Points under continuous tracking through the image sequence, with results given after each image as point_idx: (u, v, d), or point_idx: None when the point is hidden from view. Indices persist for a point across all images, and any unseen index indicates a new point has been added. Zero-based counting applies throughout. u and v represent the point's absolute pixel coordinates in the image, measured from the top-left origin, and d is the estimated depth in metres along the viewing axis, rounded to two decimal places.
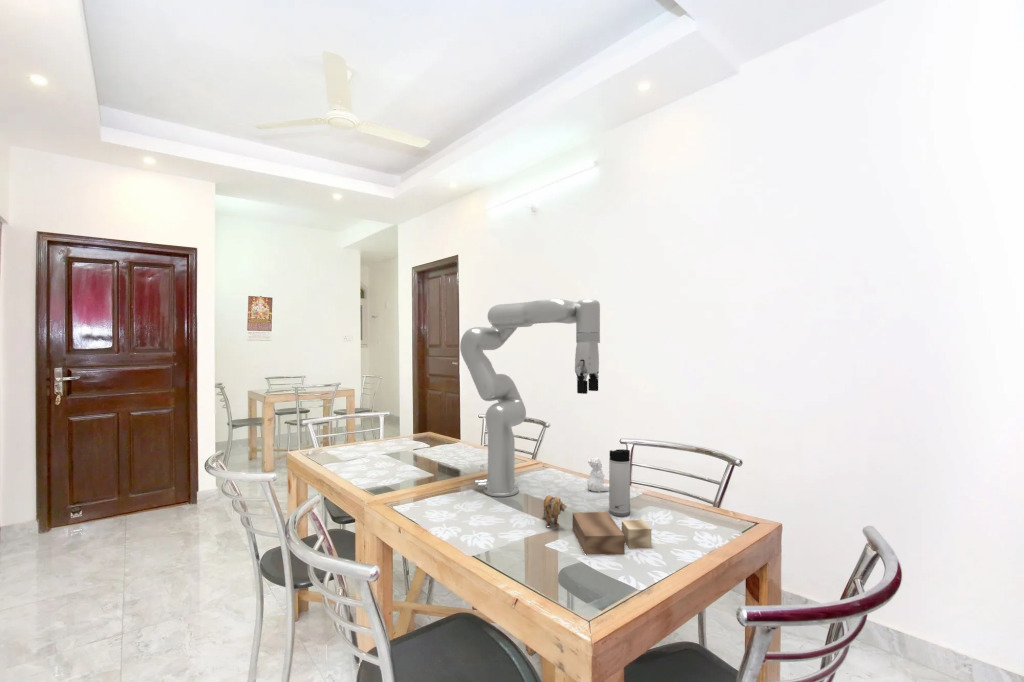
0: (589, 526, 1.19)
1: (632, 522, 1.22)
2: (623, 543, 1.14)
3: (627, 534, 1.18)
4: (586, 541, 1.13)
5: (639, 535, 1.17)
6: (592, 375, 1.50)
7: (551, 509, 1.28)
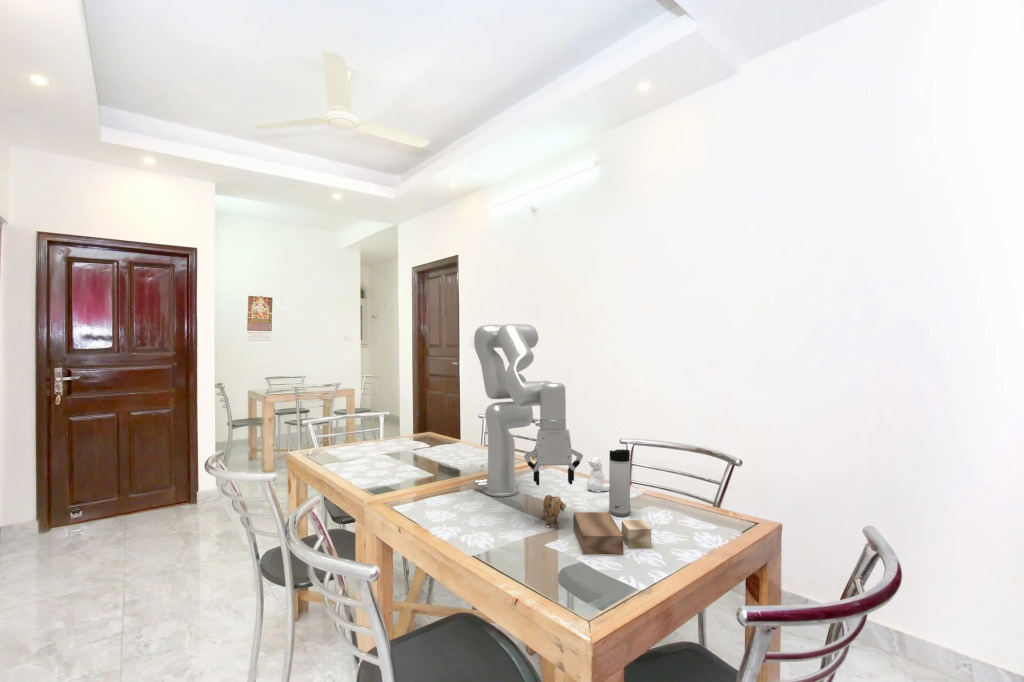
0: (588, 526, 1.20)
1: (632, 522, 1.22)
2: (622, 543, 1.14)
3: (627, 534, 1.18)
4: (584, 541, 1.13)
5: (639, 535, 1.17)
6: None
7: (551, 508, 1.29)
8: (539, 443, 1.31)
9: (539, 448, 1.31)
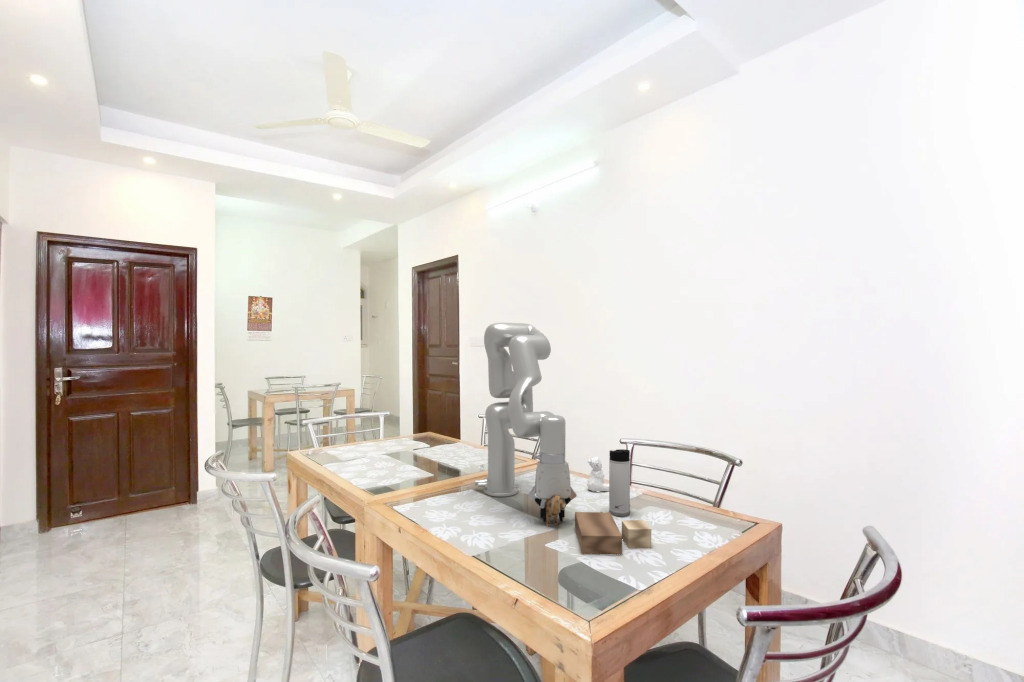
0: (588, 526, 1.20)
1: (632, 522, 1.22)
2: (620, 544, 1.13)
3: (627, 534, 1.18)
4: (583, 540, 1.14)
5: (639, 535, 1.17)
6: None
7: (551, 507, 1.29)
8: (538, 476, 1.31)
9: (538, 481, 1.31)
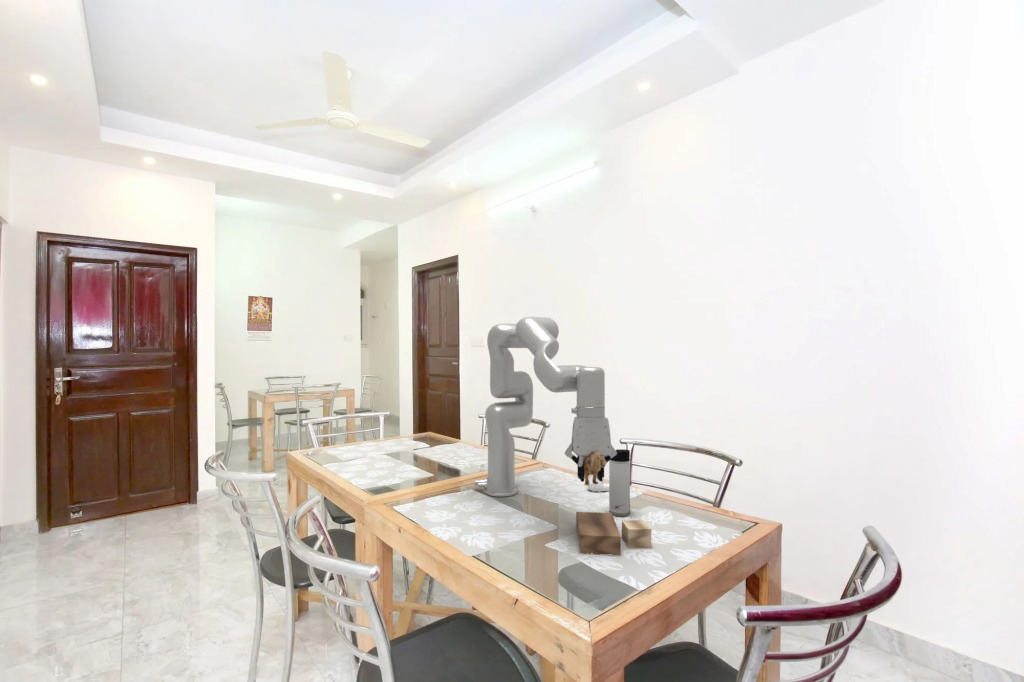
0: (587, 525, 1.20)
1: (632, 522, 1.22)
2: (619, 544, 1.13)
3: (627, 534, 1.18)
4: (581, 540, 1.14)
5: (639, 535, 1.17)
6: None
7: (591, 464, 1.19)
8: (576, 432, 1.21)
9: (576, 437, 1.21)
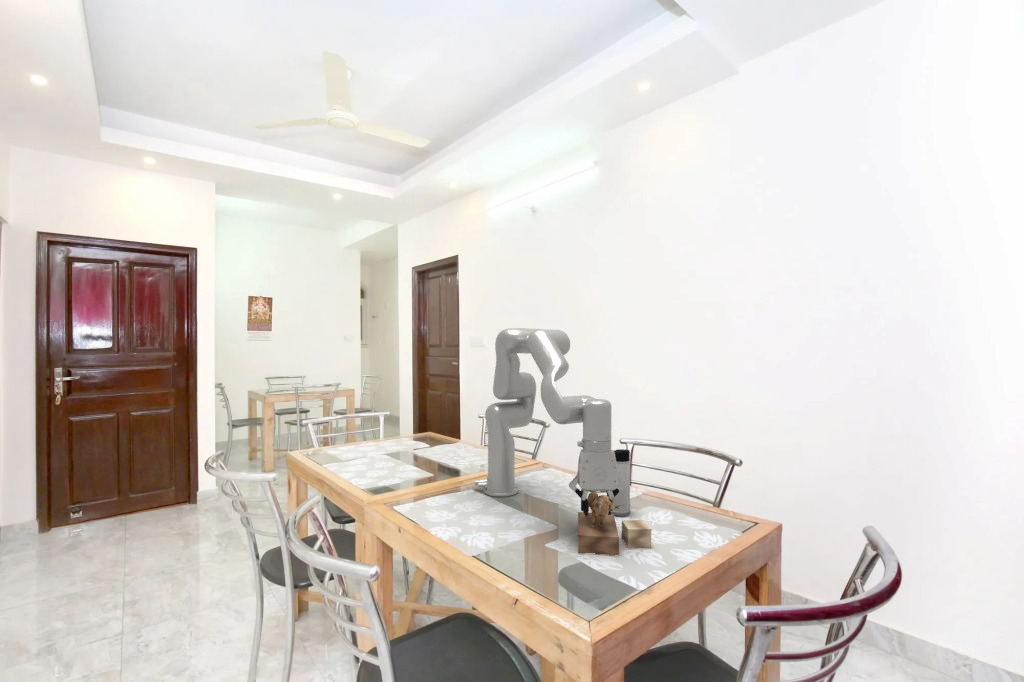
0: (587, 526, 1.20)
1: (632, 522, 1.22)
2: (617, 545, 1.13)
3: (627, 534, 1.18)
4: (579, 540, 1.14)
5: (639, 535, 1.17)
6: None
7: (599, 508, 1.16)
8: (582, 466, 1.19)
9: (582, 471, 1.19)
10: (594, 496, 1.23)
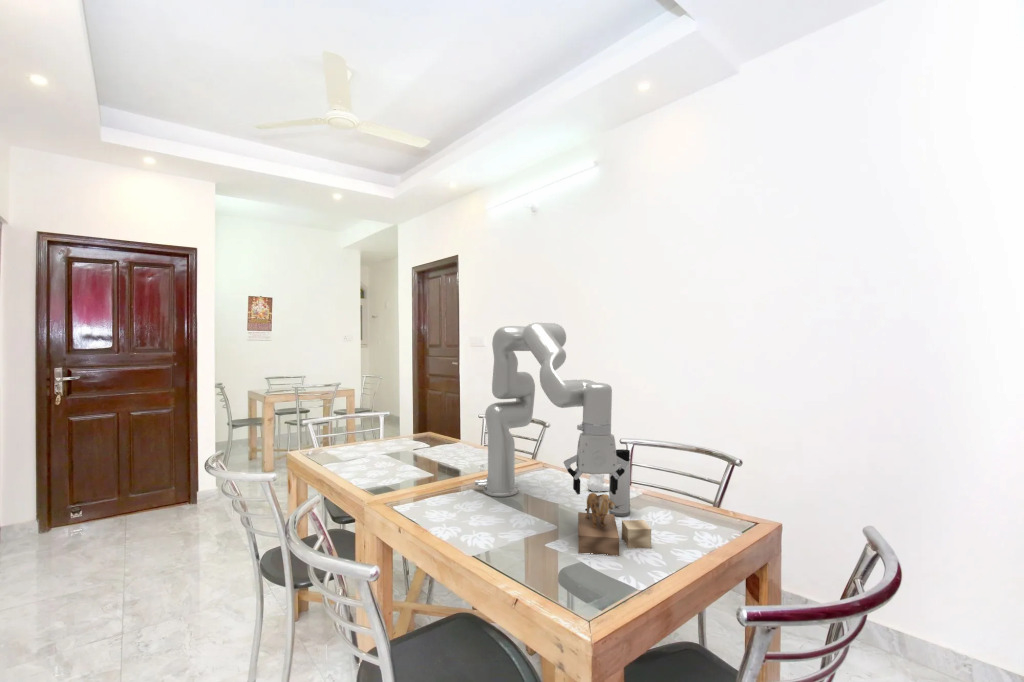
0: (587, 526, 1.20)
1: (632, 522, 1.22)
2: (618, 546, 1.13)
3: (627, 534, 1.18)
4: (580, 540, 1.14)
5: (639, 535, 1.17)
6: None
7: (599, 507, 1.17)
8: (582, 449, 1.19)
9: (581, 455, 1.19)
10: (594, 496, 1.24)
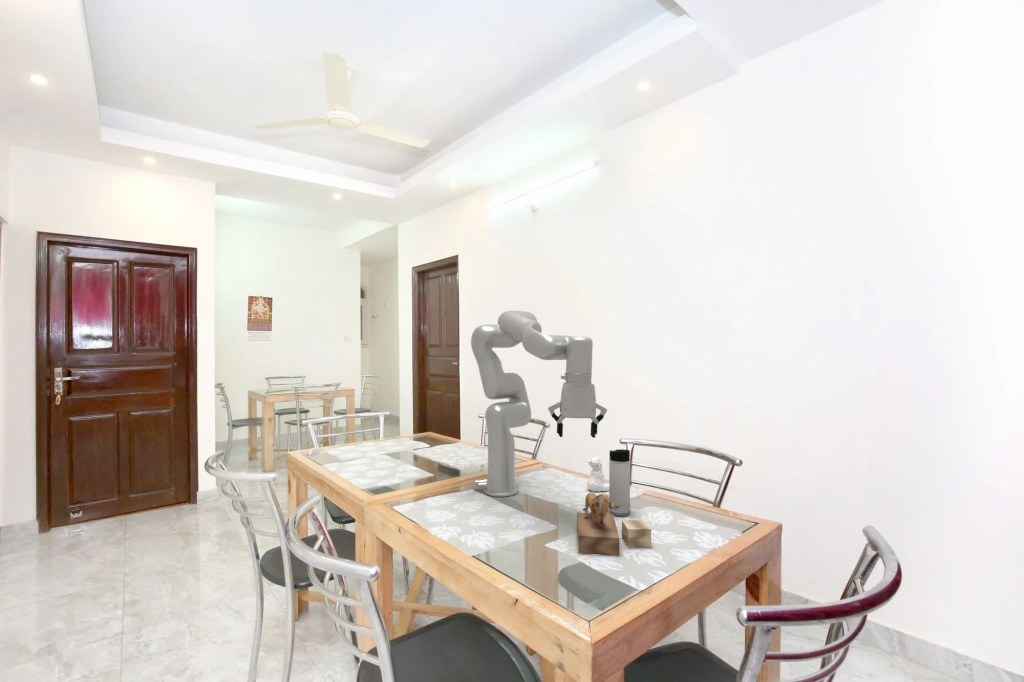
0: (587, 526, 1.20)
1: (632, 522, 1.22)
2: (618, 546, 1.13)
3: (627, 534, 1.18)
4: (580, 541, 1.14)
5: (639, 535, 1.17)
6: None
7: (599, 507, 1.17)
8: (564, 395, 1.32)
9: (564, 400, 1.32)
10: (592, 496, 1.24)
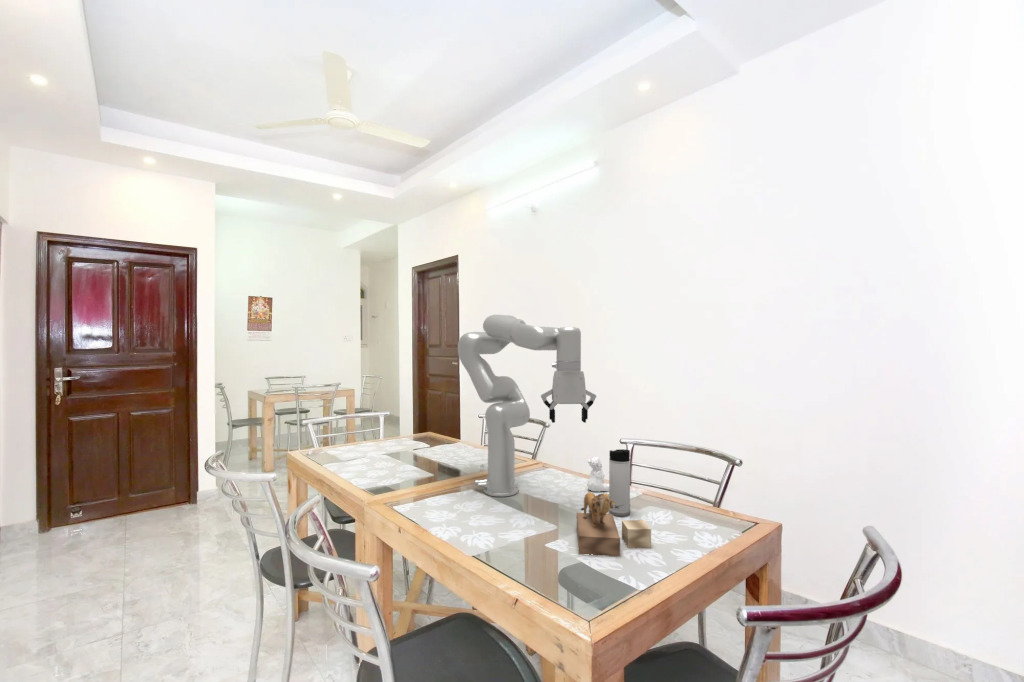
0: (587, 526, 1.19)
1: (632, 522, 1.22)
2: (618, 546, 1.13)
3: (627, 534, 1.18)
4: (580, 541, 1.14)
5: (639, 535, 1.17)
6: None
7: (600, 506, 1.17)
8: (555, 383, 1.39)
9: (555, 387, 1.39)
10: (592, 496, 1.24)
